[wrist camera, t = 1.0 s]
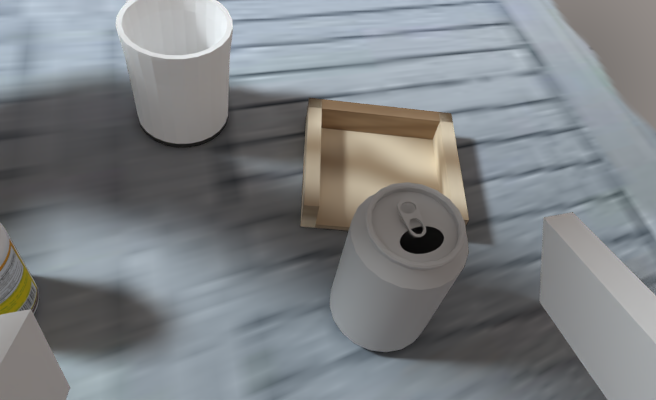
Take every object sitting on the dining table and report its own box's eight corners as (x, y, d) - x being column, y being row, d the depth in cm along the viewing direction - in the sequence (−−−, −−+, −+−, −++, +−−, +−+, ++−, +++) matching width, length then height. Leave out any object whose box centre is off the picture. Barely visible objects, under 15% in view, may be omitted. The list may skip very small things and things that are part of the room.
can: (352, 371, 40) (389, 291, 31) (313, 282, 44) (335, 187, 35) (441, 337, 43) (501, 254, 33) (397, 256, 47) (439, 161, 37)
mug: (252, 121, 54) (255, 30, 45) (173, 167, 49) (162, 75, 41) (180, 59, 57) (171, -35, 49) (101, 97, 53) (77, 0, 45)
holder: (457, 240, 49) (469, 220, 46) (300, 226, 47) (304, 205, 45) (441, 135, 56) (451, 113, 54) (305, 121, 55) (309, 97, 52)
